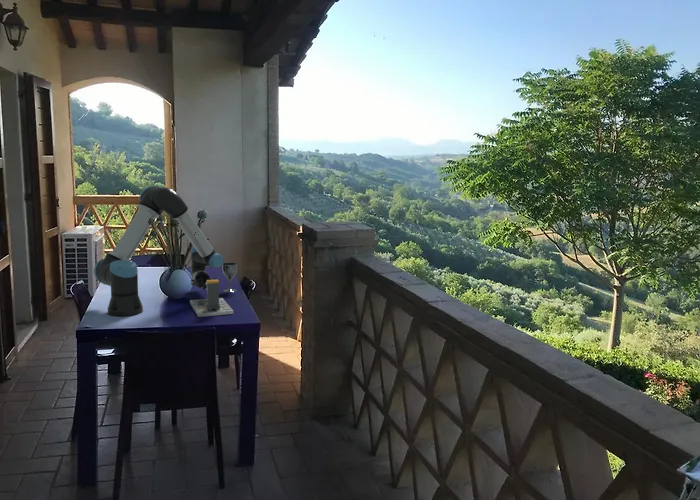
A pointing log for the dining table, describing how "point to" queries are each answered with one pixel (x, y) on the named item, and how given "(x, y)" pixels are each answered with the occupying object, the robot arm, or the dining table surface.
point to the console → (202, 311)
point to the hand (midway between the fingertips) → (209, 288)
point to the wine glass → (229, 273)
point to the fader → (212, 294)
